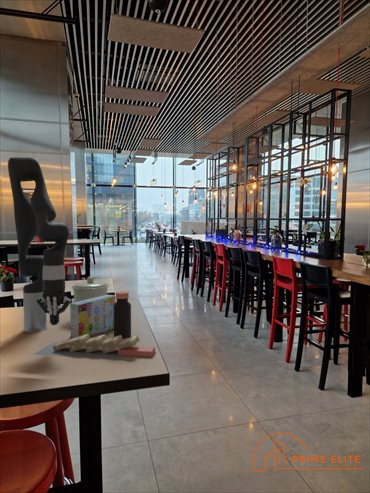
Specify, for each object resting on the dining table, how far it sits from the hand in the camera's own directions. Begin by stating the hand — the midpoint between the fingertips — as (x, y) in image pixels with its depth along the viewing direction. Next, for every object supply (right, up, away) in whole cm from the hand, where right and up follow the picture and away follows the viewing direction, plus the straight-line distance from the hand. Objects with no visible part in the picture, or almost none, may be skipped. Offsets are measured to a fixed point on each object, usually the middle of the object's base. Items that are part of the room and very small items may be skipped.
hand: (54, 324), depth 114 cm
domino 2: (+7, -8, -1) cm, 11 cm away
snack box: (+9, -9, +21) cm, 24 cm away
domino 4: (+19, -8, -3) cm, 21 cm away
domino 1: (+1, -8, 0) cm, 8 cm away
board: (+12, -10, -2) cm, 15 cm away
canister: (-1, -8, +46) cm, 47 cm away
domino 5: (+25, -8, -4) cm, 26 cm away
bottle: (+23, -10, +9) cm, 27 cm away
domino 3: (+13, -8, -2) cm, 16 cm away
